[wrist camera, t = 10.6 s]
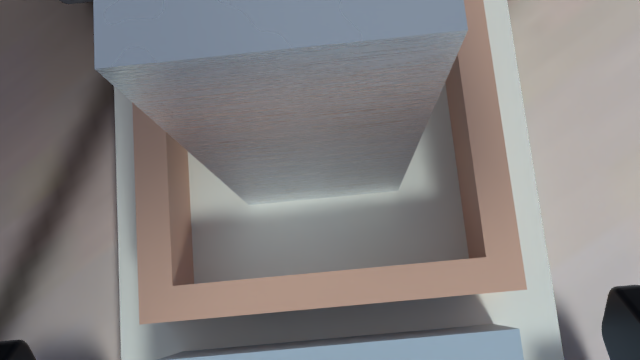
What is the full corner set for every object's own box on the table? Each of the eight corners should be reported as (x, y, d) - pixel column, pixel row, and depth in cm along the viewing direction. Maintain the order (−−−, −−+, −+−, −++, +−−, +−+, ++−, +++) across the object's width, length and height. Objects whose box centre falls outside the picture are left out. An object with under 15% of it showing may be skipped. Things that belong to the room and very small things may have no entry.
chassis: (639, 576, 19) (724, 659, 15) (92, 617, 19) (18, 708, 15) (513, -158, 24) (549, -258, 20) (80, -108, 24) (22, -195, 20)
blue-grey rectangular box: (397, 190, 20) (467, 30, 8) (248, 205, 20) (94, 68, 8) (381, 49, 21) (422, -287, 9) (239, 64, 21) (88, -246, 9)
